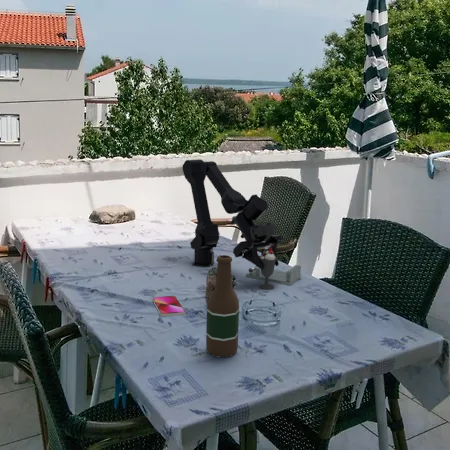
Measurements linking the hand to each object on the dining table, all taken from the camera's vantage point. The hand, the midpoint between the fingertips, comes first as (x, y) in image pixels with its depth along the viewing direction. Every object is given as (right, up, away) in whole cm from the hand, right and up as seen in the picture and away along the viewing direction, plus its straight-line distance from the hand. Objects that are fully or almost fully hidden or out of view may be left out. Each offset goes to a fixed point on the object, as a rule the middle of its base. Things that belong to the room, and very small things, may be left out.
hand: (270, 267), depth 179 cm
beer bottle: (-16, -17, -45) cm, 51 cm away
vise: (+2, -5, +13) cm, 14 cm away
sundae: (-1, -7, +3) cm, 7 cm away
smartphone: (-32, -11, -17) cm, 37 cm away
